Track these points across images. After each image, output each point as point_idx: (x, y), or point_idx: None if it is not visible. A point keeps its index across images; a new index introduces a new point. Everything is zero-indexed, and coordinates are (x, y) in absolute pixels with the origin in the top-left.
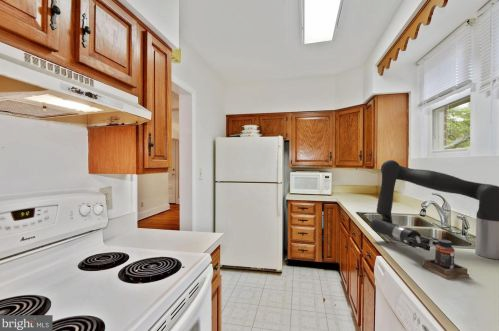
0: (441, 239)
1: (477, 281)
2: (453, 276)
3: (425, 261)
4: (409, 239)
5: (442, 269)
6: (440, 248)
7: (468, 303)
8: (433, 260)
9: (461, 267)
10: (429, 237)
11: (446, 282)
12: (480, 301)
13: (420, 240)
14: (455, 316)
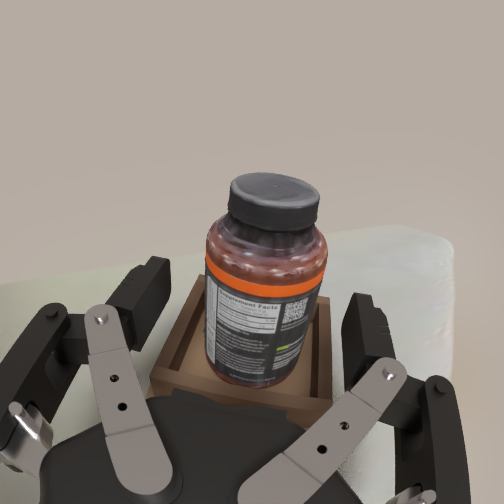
0: (263, 199)
1: None
2: None
3: (330, 401)
4: (446, 464)
5: (329, 313)
6: (325, 241)
7: (385, 251)
8: (259, 390)
9: (204, 289)
10: (3, 422)
11: None
12: (347, 245)
13: (298, 425)
14: (443, 248)
